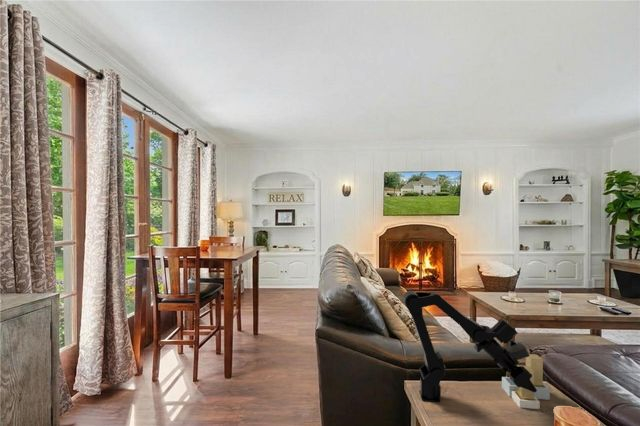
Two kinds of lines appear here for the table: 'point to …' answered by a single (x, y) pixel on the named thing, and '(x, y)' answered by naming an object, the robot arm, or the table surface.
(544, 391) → the two-compartment pale blue organizer
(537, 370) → the seated billet
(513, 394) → the box
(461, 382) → the table surface
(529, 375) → the robot arm
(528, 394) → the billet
